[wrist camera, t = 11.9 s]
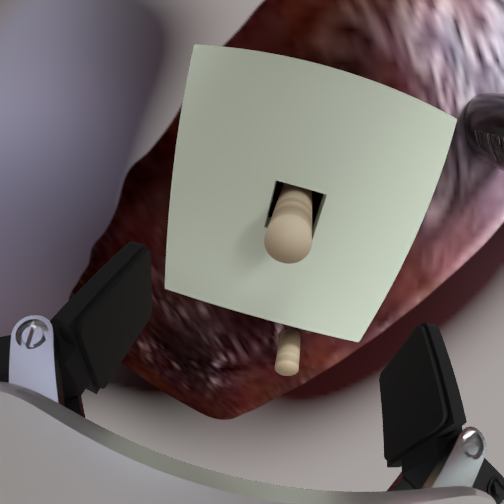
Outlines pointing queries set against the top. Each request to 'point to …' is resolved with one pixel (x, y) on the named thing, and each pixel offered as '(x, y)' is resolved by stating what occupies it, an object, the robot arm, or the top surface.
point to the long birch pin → (290, 225)
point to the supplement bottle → (486, 128)
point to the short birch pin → (288, 352)
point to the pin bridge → (302, 175)
